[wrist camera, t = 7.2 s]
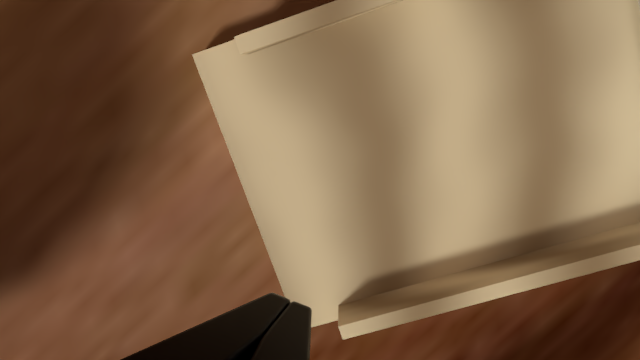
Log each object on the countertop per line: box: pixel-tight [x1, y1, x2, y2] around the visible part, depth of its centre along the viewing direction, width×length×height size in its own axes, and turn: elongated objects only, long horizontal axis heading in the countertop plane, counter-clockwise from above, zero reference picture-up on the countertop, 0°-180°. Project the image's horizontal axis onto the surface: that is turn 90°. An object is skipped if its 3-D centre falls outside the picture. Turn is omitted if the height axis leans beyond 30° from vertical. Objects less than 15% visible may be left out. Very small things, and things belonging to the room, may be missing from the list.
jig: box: [192, 0, 640, 340], centre depth 15 cm, size 22×12×8 cm, turn 108°
